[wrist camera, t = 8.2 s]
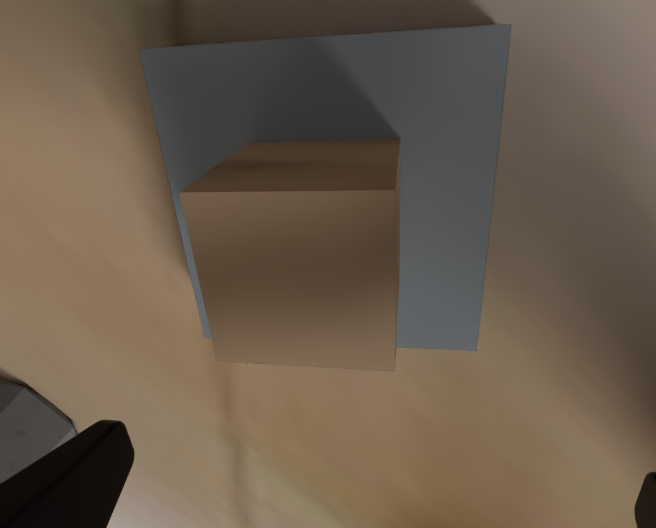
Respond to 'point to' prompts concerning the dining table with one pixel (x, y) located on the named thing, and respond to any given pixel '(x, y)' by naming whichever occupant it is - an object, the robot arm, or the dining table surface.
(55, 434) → the coffeepot
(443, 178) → the slate plinth
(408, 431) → the dining table surface
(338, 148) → the walnut cube
